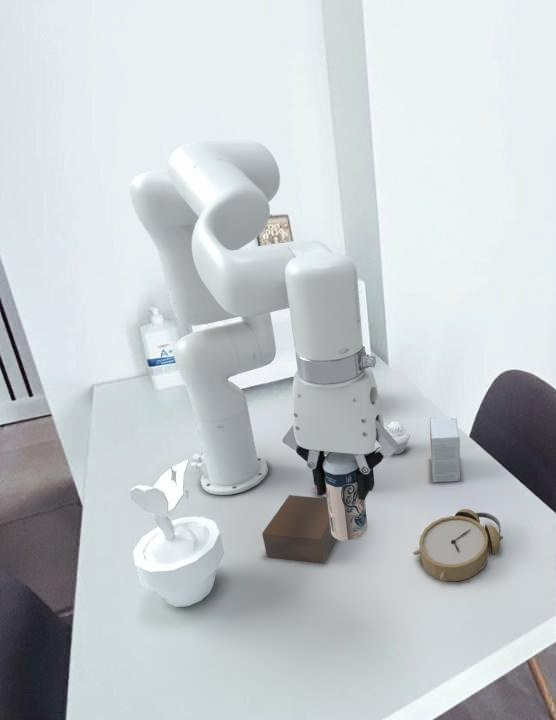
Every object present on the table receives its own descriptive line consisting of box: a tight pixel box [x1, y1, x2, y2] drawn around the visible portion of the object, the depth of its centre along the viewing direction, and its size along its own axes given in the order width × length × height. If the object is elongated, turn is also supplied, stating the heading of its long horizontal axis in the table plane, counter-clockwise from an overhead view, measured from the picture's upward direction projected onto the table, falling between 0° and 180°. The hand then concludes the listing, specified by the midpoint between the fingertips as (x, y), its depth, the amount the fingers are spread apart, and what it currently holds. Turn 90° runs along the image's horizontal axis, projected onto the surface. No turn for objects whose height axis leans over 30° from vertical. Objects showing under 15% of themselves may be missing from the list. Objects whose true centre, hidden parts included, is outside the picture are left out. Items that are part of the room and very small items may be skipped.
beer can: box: [323, 452, 368, 542], centre depth 70 cm, size 5×5×12 cm
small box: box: [429, 416, 461, 483], centre depth 110 cm, size 8×6×10 cm
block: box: [261, 494, 337, 564], centre depth 93 cm, size 10×10×5 cm
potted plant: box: [129, 459, 225, 608], centre depth 79 cm, size 13×12×25 cm
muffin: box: [385, 421, 411, 455], centre depth 118 cm, size 6×6×7 cm
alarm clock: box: [412, 508, 504, 582], centre depth 90 cm, size 11×5×15 cm
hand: (345, 489), depth 70 cm, fingers closed on beer can, 4 cm apart
